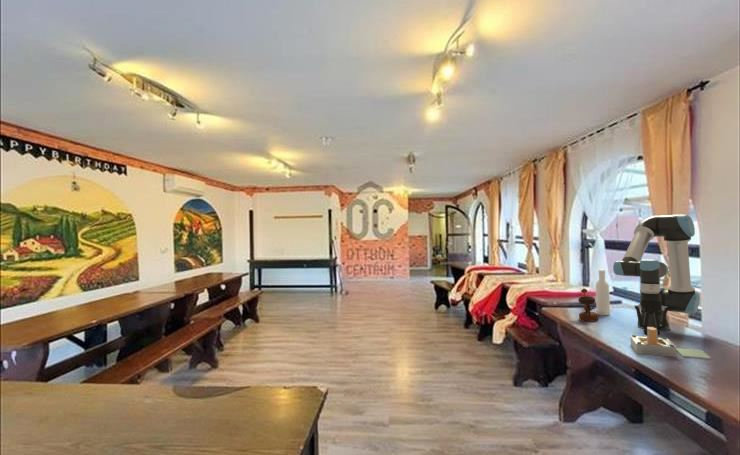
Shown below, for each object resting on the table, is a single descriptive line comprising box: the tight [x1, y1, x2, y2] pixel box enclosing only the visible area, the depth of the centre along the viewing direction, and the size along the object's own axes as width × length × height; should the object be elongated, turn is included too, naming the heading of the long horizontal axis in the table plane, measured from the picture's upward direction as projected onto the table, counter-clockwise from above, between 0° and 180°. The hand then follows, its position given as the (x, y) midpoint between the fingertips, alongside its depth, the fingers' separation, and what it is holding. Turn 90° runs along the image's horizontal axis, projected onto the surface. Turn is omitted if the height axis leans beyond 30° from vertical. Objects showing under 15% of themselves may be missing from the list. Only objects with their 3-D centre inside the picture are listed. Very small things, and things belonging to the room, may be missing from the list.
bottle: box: [595, 268, 611, 316], centre depth 262 cm, size 8×8×30 cm
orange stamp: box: [642, 327, 663, 345], centre depth 185 cm, size 8×8×10 cm
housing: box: [629, 334, 678, 358], centre depth 185 cm, size 15×15×5 cm
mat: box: [676, 347, 712, 360], centre depth 178 cm, size 12×10×1 cm
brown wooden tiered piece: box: [578, 287, 599, 322], centre depth 248 cm, size 15×11×20 cm
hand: (652, 342), depth 185 cm, fingers closed on orange stamp, 2 cm apart
